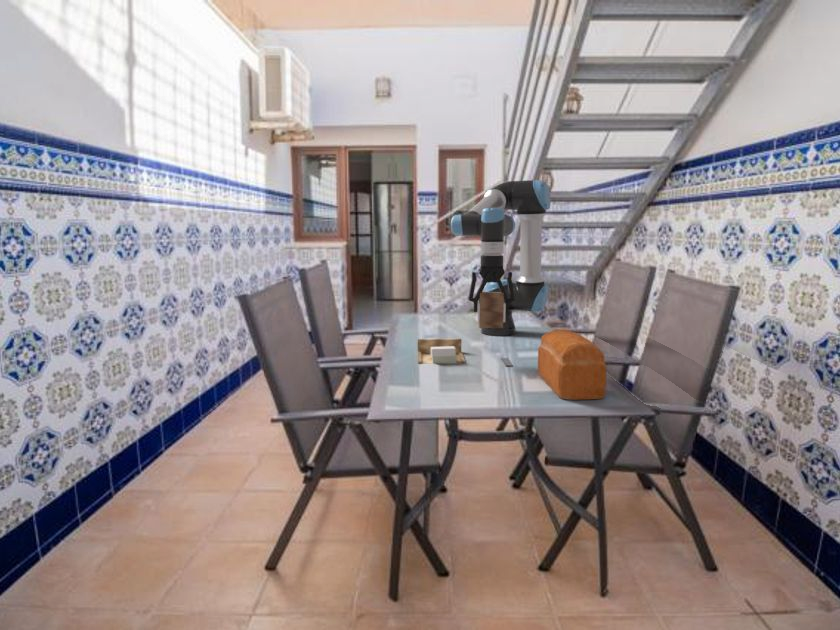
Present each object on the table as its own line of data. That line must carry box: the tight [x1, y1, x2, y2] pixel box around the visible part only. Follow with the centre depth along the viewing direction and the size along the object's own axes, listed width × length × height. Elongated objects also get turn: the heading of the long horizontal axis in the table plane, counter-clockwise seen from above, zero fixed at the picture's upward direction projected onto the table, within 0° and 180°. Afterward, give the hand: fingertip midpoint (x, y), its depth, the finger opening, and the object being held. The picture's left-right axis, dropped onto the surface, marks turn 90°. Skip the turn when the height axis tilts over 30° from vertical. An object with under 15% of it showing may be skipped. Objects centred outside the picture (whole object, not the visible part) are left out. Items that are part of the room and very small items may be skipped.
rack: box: [417, 338, 466, 365], centre depth 189 cm, size 16×16×6 cm
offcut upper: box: [431, 346, 455, 356], centre depth 183 cm, size 8×4×2 cm, turn 97°
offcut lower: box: [433, 353, 457, 364], centre depth 183 cm, size 8×4×2 cm, turn 91°
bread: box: [537, 329, 608, 401], centre depth 158 cm, size 14×26×16 cm, turn 2°
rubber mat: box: [500, 357, 514, 367], centre depth 186 cm, size 14×10×1 cm
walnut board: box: [478, 291, 504, 329], centre depth 182 cm, size 8×3×12 cm, turn 91°
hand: (490, 321), depth 183 cm, fingers closed on walnut board, 8 cm apart
